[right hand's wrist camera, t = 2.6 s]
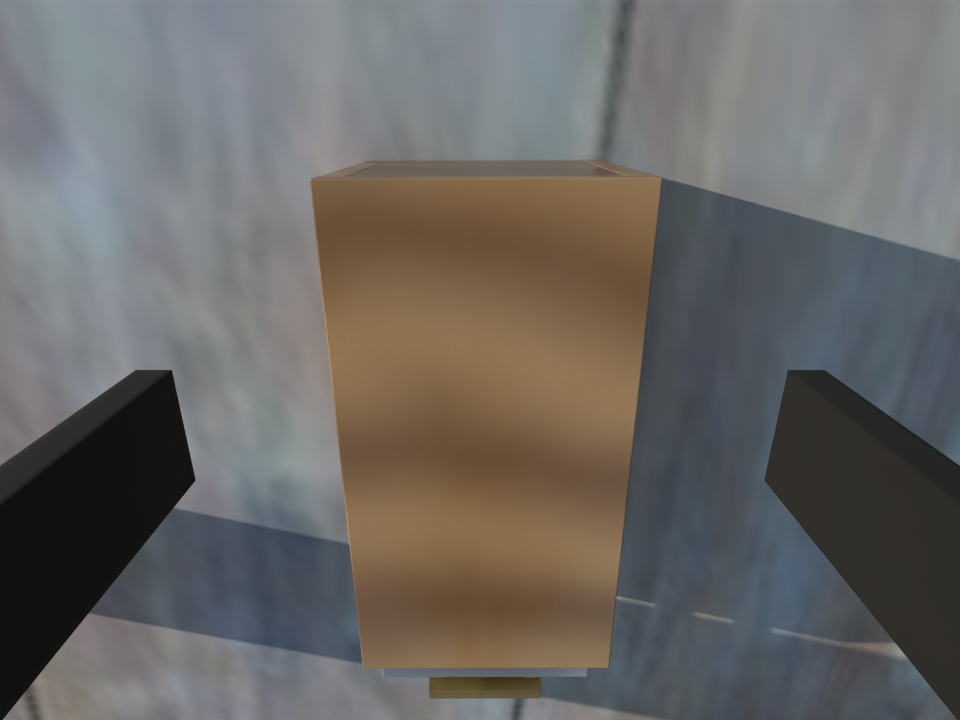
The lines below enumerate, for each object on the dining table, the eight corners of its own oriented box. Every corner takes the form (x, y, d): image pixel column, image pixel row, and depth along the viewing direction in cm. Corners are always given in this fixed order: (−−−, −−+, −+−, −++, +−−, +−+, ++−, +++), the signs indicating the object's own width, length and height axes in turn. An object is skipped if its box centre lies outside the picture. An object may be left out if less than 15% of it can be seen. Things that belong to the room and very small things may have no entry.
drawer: (560, 643, 35) (580, 766, 28) (408, 643, 35) (390, 766, 28) (588, 229, 26) (626, 266, 19) (380, 230, 26) (345, 267, 19)
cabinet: (575, 528, 33) (608, 668, 25) (392, 529, 33) (362, 669, 25) (602, 160, 26) (662, 177, 17) (365, 161, 26) (309, 178, 17)
